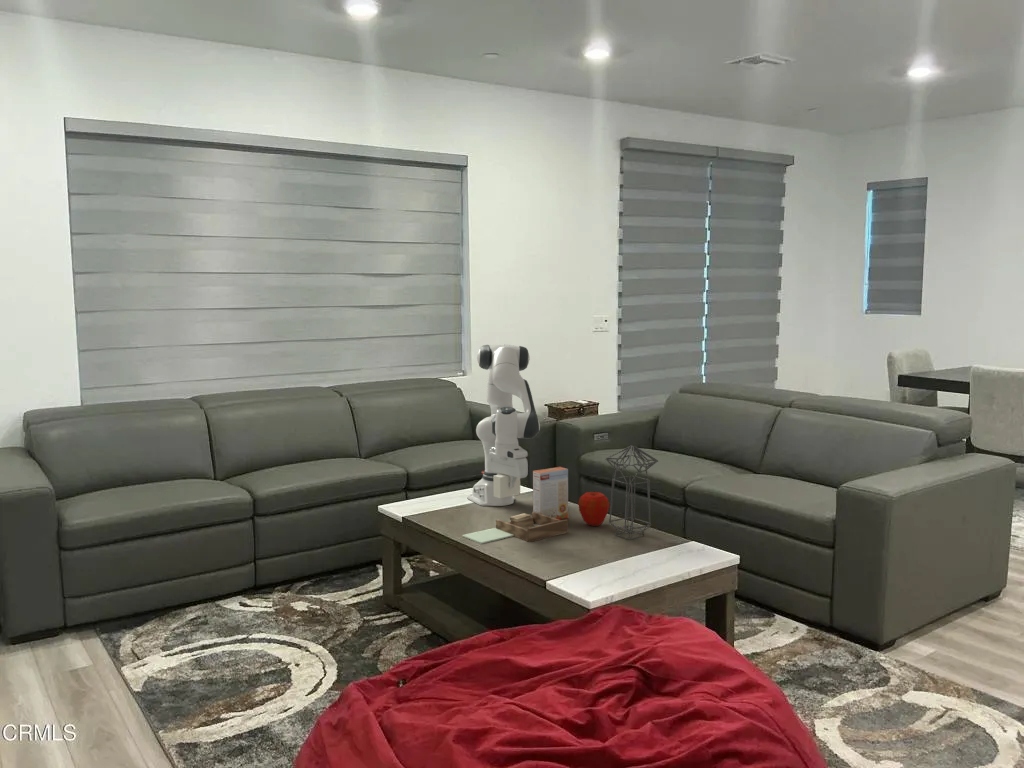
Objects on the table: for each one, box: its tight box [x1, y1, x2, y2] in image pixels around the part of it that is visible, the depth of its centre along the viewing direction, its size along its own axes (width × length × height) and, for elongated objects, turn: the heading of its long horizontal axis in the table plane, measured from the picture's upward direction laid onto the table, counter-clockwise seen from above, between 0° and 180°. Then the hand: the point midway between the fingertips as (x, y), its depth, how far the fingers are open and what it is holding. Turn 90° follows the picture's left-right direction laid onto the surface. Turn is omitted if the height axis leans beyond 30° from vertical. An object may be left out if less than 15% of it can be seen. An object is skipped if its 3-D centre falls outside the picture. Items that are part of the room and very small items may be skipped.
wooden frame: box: [495, 511, 569, 543], centre depth 336 cm, size 20×20×5 cm
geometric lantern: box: [605, 445, 659, 540], centre depth 329 cm, size 16×16×35 cm
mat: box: [461, 527, 514, 545], centre depth 329 cm, size 12×16×1 cm
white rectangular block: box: [493, 474, 521, 498], centre depth 329 cm, size 4×10×8 cm, turn 131°
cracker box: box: [532, 466, 569, 520], centre depth 352 cm, size 14×6×21 cm, turn 122°
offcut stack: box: [509, 512, 535, 529], centre depth 341 cm, size 4×10×5 cm, turn 136°
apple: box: [577, 491, 611, 527], centre depth 344 cm, size 12×12×14 cm
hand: (506, 485), depth 329 cm, fingers closed on white rectangular block, 4 cm apart
